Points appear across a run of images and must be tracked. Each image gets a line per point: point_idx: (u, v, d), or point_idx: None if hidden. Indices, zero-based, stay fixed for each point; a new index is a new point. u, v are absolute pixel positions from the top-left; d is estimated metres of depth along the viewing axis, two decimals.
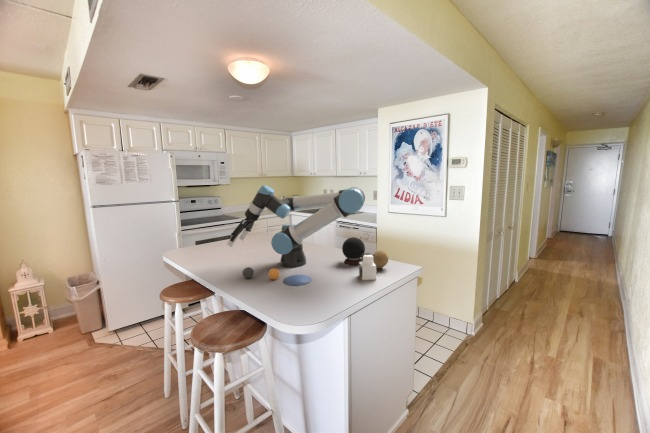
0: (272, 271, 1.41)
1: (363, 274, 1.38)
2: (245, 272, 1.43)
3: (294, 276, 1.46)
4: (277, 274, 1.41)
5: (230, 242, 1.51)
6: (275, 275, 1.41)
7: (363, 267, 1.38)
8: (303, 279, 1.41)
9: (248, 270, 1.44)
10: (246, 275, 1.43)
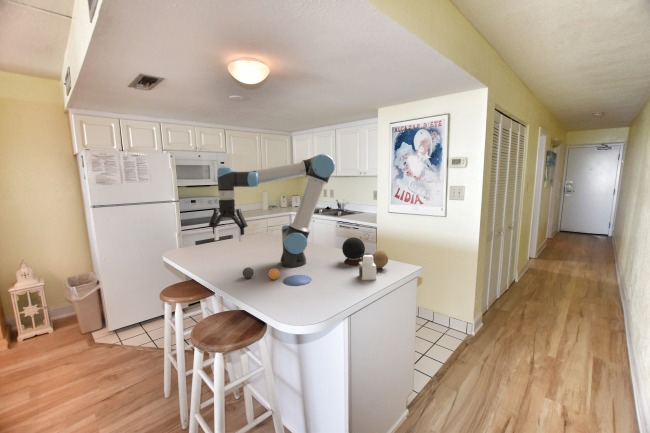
0: (272, 271, 1.41)
1: (363, 274, 1.38)
2: (245, 272, 1.43)
3: (294, 276, 1.46)
4: (277, 274, 1.41)
5: (241, 237, 1.44)
6: (275, 275, 1.41)
7: (363, 267, 1.38)
8: (303, 279, 1.41)
9: (248, 270, 1.44)
10: (246, 275, 1.43)
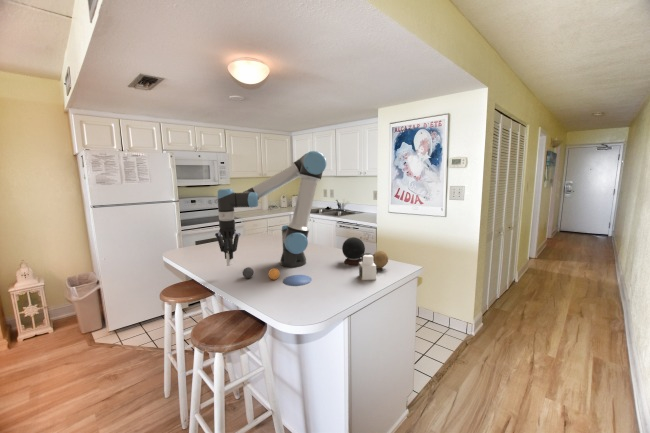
0: (272, 271, 1.41)
1: (363, 274, 1.38)
2: (245, 272, 1.43)
3: (294, 276, 1.46)
4: (277, 274, 1.41)
5: (230, 261, 1.46)
6: (275, 275, 1.41)
7: (363, 267, 1.38)
8: (303, 279, 1.41)
9: (248, 270, 1.44)
10: (246, 275, 1.43)
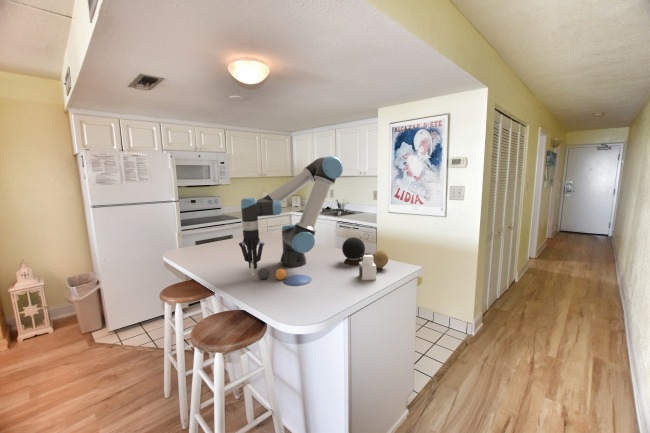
0: (283, 274, 1.40)
1: (363, 274, 1.38)
2: (262, 277, 1.42)
3: (294, 276, 1.46)
4: (282, 279, 1.41)
5: (254, 270, 1.45)
6: (280, 278, 1.40)
7: (363, 267, 1.38)
8: (303, 279, 1.41)
9: (261, 278, 1.43)
10: (260, 274, 1.41)
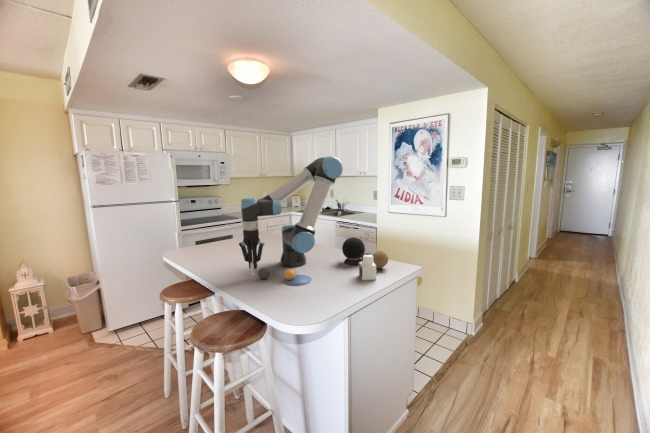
0: (289, 279, 1.40)
1: (363, 274, 1.38)
2: (262, 277, 1.42)
3: None
4: (284, 276, 1.41)
5: (254, 270, 1.45)
6: (285, 277, 1.40)
7: (363, 267, 1.38)
8: (303, 279, 1.41)
9: (261, 278, 1.43)
10: (260, 274, 1.41)
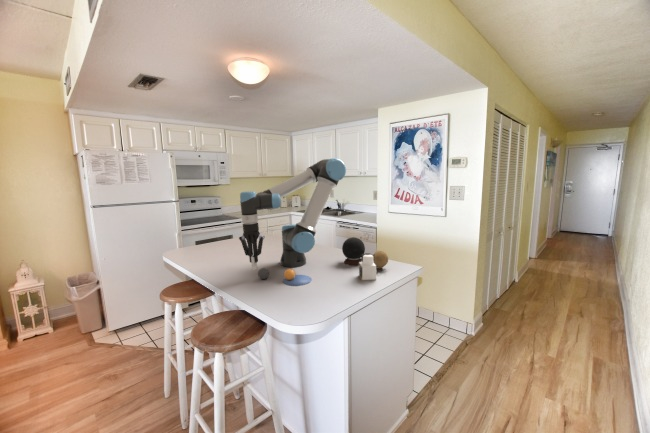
0: (289, 279, 1.40)
1: (363, 274, 1.38)
2: (262, 277, 1.42)
3: None
4: (284, 276, 1.41)
5: (255, 264, 1.45)
6: (285, 277, 1.40)
7: (363, 267, 1.38)
8: (303, 279, 1.41)
9: (261, 278, 1.43)
10: (260, 274, 1.41)
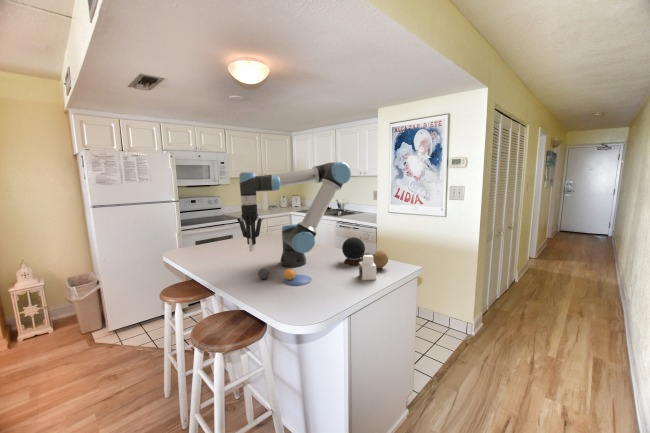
0: (289, 279, 1.40)
1: (363, 274, 1.38)
2: (262, 277, 1.42)
3: None
4: (284, 276, 1.41)
5: (253, 246, 1.43)
6: (285, 277, 1.40)
7: (363, 267, 1.38)
8: (303, 279, 1.41)
9: (261, 278, 1.43)
10: (260, 274, 1.41)
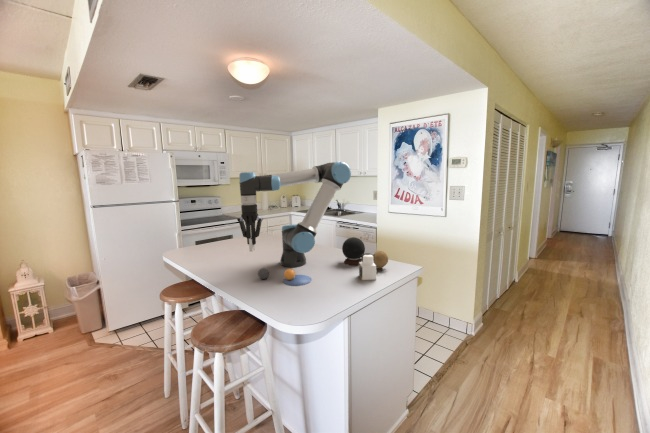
0: (289, 279, 1.40)
1: (363, 274, 1.38)
2: (262, 277, 1.42)
3: None
4: (284, 276, 1.41)
5: (253, 246, 1.43)
6: (285, 277, 1.40)
7: (363, 267, 1.38)
8: (303, 279, 1.41)
9: (261, 278, 1.43)
10: (260, 274, 1.41)
